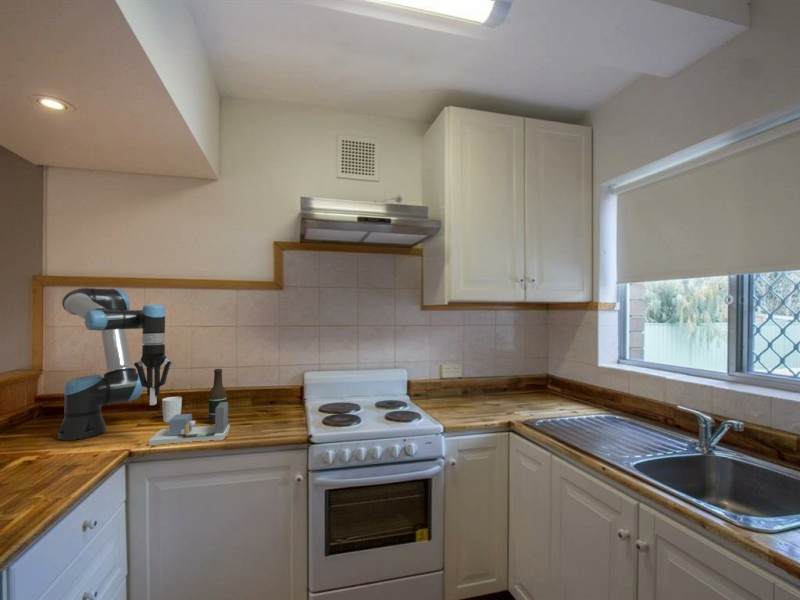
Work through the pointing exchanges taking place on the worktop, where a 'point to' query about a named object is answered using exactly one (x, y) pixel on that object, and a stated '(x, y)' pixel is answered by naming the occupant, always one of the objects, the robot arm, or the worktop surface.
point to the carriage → (180, 424)
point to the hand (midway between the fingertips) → (153, 404)
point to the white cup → (171, 407)
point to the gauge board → (198, 430)
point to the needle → (187, 429)
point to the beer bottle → (216, 395)
